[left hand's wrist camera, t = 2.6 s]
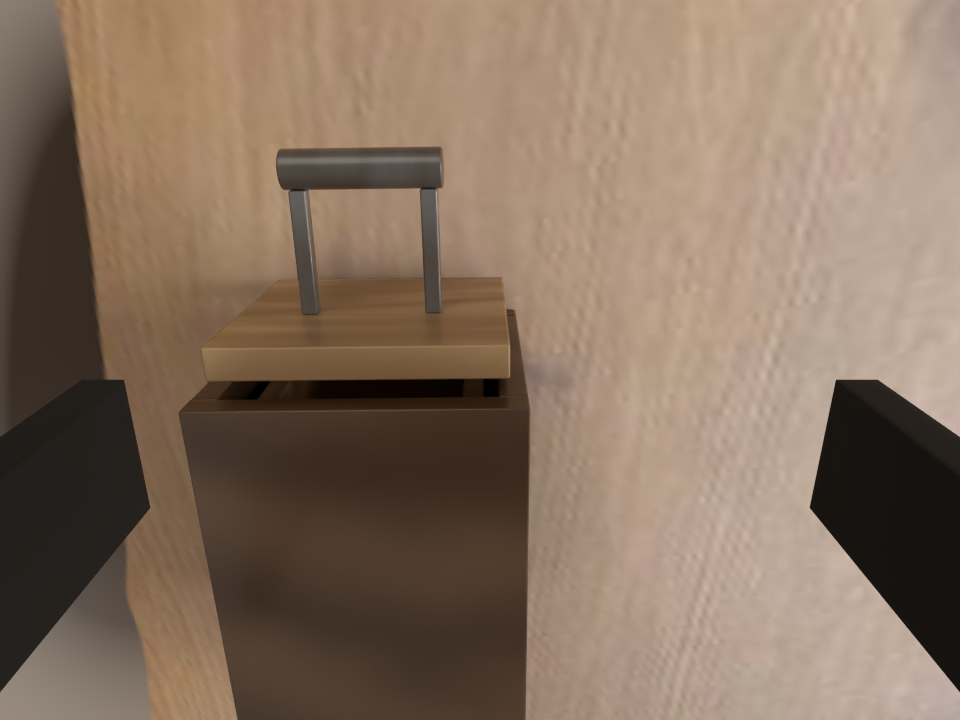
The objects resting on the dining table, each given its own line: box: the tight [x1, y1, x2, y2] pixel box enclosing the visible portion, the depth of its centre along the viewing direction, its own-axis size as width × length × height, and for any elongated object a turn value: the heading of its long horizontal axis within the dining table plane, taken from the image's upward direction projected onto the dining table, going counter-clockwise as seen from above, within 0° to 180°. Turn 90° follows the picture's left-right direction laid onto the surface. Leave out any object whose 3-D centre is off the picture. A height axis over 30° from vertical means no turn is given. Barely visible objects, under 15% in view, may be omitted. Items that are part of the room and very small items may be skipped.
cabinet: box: [179, 310, 530, 720], centre depth 29 cm, size 16×11×11 cm
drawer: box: [201, 147, 510, 400], centre depth 27 cm, size 21×10×9 cm, turn 1°
